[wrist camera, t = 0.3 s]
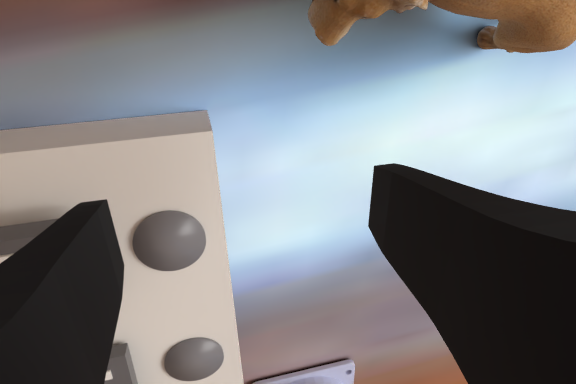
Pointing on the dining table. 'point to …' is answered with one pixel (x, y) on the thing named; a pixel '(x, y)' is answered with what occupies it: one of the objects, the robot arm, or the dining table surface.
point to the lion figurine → (477, 3)
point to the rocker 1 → (19, 236)
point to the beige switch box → (142, 231)
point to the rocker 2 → (120, 366)
